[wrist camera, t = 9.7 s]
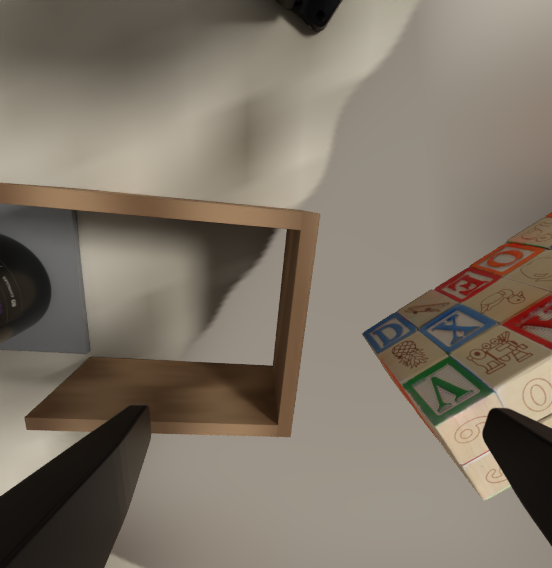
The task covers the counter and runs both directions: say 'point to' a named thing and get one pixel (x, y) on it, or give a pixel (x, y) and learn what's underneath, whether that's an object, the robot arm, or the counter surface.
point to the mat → (51, 277)
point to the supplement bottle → (21, 288)
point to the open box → (184, 375)
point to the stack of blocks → (477, 350)
